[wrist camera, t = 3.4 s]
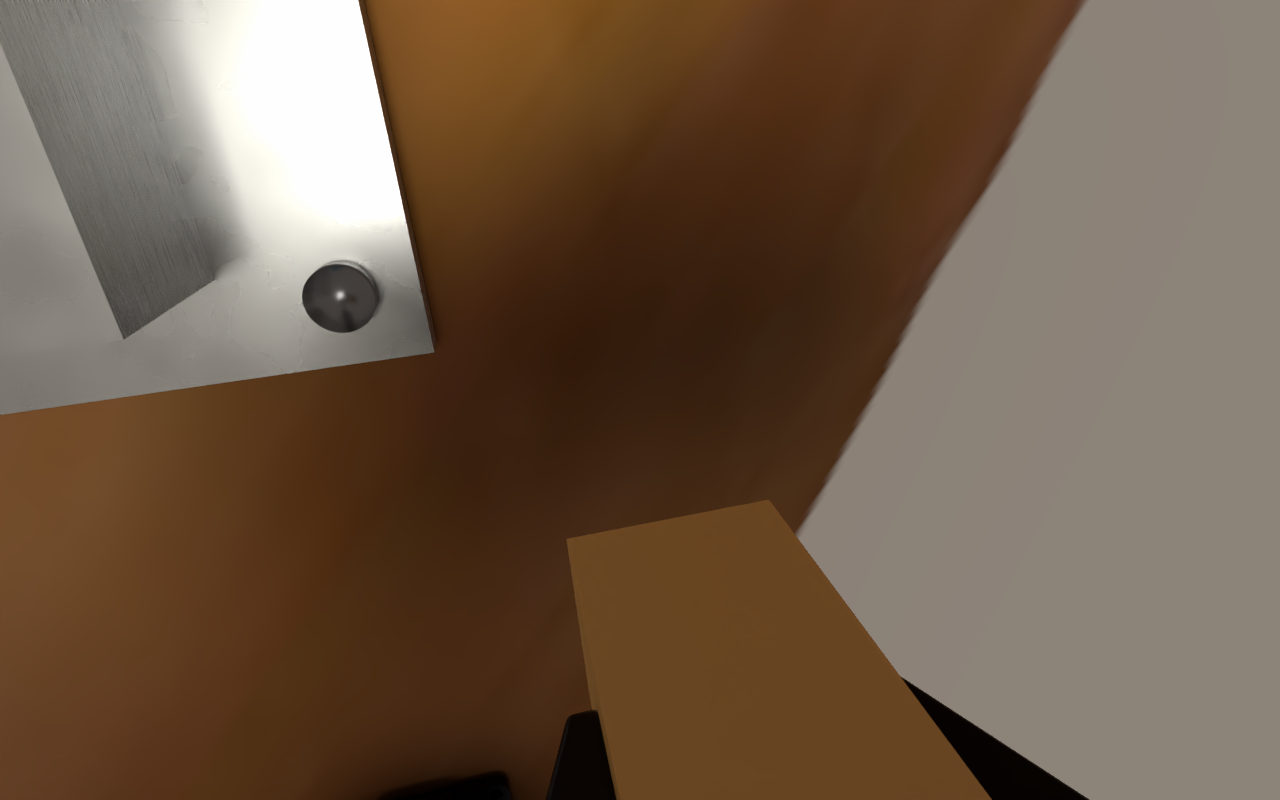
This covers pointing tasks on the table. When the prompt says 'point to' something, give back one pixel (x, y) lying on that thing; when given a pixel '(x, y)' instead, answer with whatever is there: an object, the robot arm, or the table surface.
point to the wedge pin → (744, 671)
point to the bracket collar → (196, 198)
